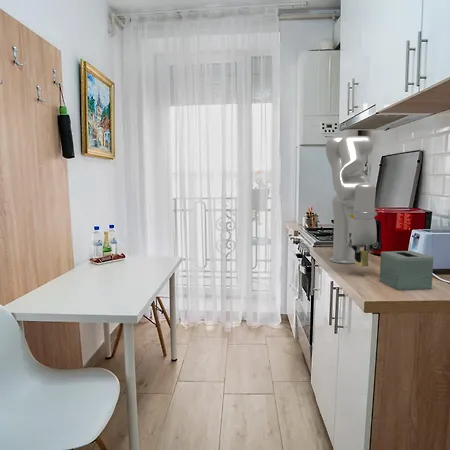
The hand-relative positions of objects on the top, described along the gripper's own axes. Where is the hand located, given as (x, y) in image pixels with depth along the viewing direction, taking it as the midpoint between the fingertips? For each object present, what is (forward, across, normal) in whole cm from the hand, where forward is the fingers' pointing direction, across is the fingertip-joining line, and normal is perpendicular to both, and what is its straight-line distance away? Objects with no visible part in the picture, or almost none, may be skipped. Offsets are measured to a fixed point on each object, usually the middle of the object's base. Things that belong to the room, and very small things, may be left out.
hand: (361, 260), depth 139 cm
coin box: (+5, -9, +16) cm, 19 cm away
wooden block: (+2, 0, +1) cm, 2 cm away
